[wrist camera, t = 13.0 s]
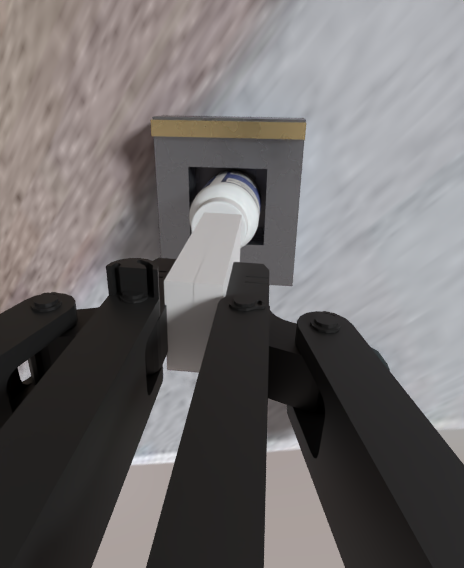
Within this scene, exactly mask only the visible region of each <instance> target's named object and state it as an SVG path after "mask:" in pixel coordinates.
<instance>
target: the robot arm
mask: <svg viewBox="0 0 464 568" xmlns="http://www.w3.org/2000/svg"><path fill="white" fill-rule="evenodd" d="M241 223H242V215H240V214H223V213H207V212H204V214H203V215H202V217H201V219H200V220H199V222H198V224H197V226H196V227H195V229H194V231H193V232H192V234H191V236H190V237H189V239H188V241H187V243H186V244H185V246H184V248H183V249H182V251H181V253H180V254H179V256H178V258H177V259H169V258H158V259H156V260H154V261H151V260H148V259H141V258H128V259H121V260H117V261H114V262H111V263H110V264H108V265H107V266H106V271H107V281H108V290H109V296H108V297H107V298H106V300H105V301H104V302H103V303H102V305H101V306H100V307H98V308H89V309H78V310H76V303H75V300H74V298H73V297H72V296H69V295H67V294H61V293H56V292H51V293H43V294H41V295H37V296H34V297H31V298H29V299H27V300H24V301H23V302H21V303H19V304H17V305H16V306H14V307H12V308H10V309H8V310H7V311H5V312H3V313H1V314H0V568H91V567H92V565H93V562H94V559H95V557H96V554H97V551H98V549H99V546H100V544H101V541H102V538H103V535H104V533H105V530H106V528H107V525H108V522H109V520H110V517H111V515H112V512H113V510H114V507H115V504H116V502H117V499H118V497H119V494H120V491H121V489H122V486H123V483H124V481H125V478H126V476H127V473H128V470H129V468H130V465H131V463H132V460H133V457H134V455H135V452H136V449H137V447H138V444H139V442H140V439H141V436H142V434H143V431H144V429H145V426H146V423H147V421H148V418H149V415H150V413H151V410H152V408H153V405H154V402H155V400H156V397H157V395H158V392H159V389H160V387H161V384H162V381H163V362H164V360H165V357H166V355H167V370H177V371H188V372H199V375H198V379H197V382H196V386H195V390H194V393H193V397H192V401H191V404H190V408H189V412H188V415H187V419H186V423H185V426H184V430H183V434H182V437H181V441H180V445H179V448H178V452H177V456H176V459H175V463H174V467H173V470H172V475H171V478H170V482H169V485H168V489H167V493H166V496H165V500H164V504H163V507H162V511H161V515H160V519H159V522H158V526H157V529H156V533H155V537H154V540H153V544H152V548H151V551H150V555H149V559H148V562H147V566H146V568H264V533H265V491H266V489H265V488H266V448H267V405H268V398H269V399H272V400H275V401H278V402H281V403H284V404H287V413H288V416H289V419H290V422H291V424H292V427H293V430H294V432H295V435H296V438H297V440H298V443H299V446H300V448H301V451H302V454H303V456H304V459H305V462H306V464H307V467H308V469H309V472H310V475H311V478H312V480H313V483H314V486H315V488H316V491H317V494H318V496H319V499H320V502H321V504H322V507H323V510H324V512H325V515H326V518H327V520H328V523H329V526H330V528H331V531H332V533H333V536H334V539H335V541H336V544H337V547H338V550H339V552H340V555H341V558H342V560H343V563H344V566H345V568H464V464H463V463H462V462H461V461H460V459H459V458H458V457H457V456H456V454H455V453H454V452H453V451H452V449H451V448H450V447H449V446H448V444H447V443H446V442H445V440H444V439H443V438H442V437H441V435H440V434H439V433H438V432H437V430H436V429H435V428H434V427H433V425H432V424H431V423H430V422H429V420H428V419H427V418H426V417H425V415H424V414H423V413H422V411H421V410H420V409H419V408H418V406H417V405H416V404H415V403H414V401H413V400H412V399H411V398H410V396H409V395H408V394H407V393H406V391H405V390H404V389H403V388H402V386H401V385H400V384H399V382H398V381H397V380H396V379H395V377H394V376H393V375H392V374H391V372H390V371H389V370H388V369H387V367H386V366H385V365H384V364H383V362H382V361H381V360H380V359H379V357H378V356H377V355H376V354H375V352H374V351H373V350H372V348H371V347H370V346H369V345H368V343H367V342H366V341H365V340H364V338H363V337H362V336H361V335H360V333H359V332H358V331H357V330H356V328H355V327H354V326H353V325H352V323H350V322H349V321H348V320H347V319H345V318H343V317H341V316H339V315H337V314H335V313H330V312H326V311H323V312H317V311H316V312H309V313H306V314H304V315H302V316H300V317H299V319H298V320H297V324H296V323H292V322H289V321H286V320H283V319H281V318H279V317H277V316H275V315H274V314H273V313H272V312H271V311H270V306H269V269H268V268H267V267H266V266H265V265H264V264H258V263H244V262H240V244H241ZM27 360H28V363H29V367H30V372H31V377H29V378H28V379H27V380H25V381H23V382H22V381H21V380H20V376H19V372H18V368H17V367H18V366H20V365H21V364H22V363H24V362H25V361H27Z"/></svg>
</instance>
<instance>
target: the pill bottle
mask: <svg viewBox="0 0 464 568" xmlns="http://www.w3.org/2000/svg"><path fill="white" fill-rule="evenodd" d="M260 208H261V195H260V191H259V188H258V186H257V184H256V183H255V182H254V180H253V179H252V178H250V177H249V176H248V175H246V174H244V173H242V172H239V171H234V170H230V171H224V172H221V173H219V174H217V175H215V176H214V177H213V178H211V179H210V180H209V181H208V182H207V184H206V185H205V186H204V187H203V188H202V190H201V191H200V192H199V193H198V194H197V195H196V197H195V199H194V200H193V202H192V205H191V208H190V213H189V221H190V226H191V231H192V232H193V231H194V229H195V227H196V226H197V224H198V222H199V220H200V219H201V217H202V215H203V214H204V212H207V213H223V214H240V215H242V223H241V244H240V248H242V247H243V246H245V245H246V244H247V243H248V242H249V241H250V240H251V239H252V237H253V236H254V234H255V232H256V230H257V227H258V223H259V215H260Z"/></svg>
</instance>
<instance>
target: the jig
mask: <svg viewBox="0 0 464 568" xmlns="http://www.w3.org/2000/svg"><path fill="white" fill-rule="evenodd" d="M152 118H153V120H151V136H154V150H155V167H156V183H157V199H158V216H159V232H160V248H161V258H169V259H177V258H178V256H179V254H180V253H181V251H182V249H183V248H184V246H185V244H186V243H187V241H188V239H189V237H190V236H191V234H192V231H191V226H190V221H189V213H190V208H191V205H192V202H193V200H194V199H195V197H196V195H197V194H198V193H199V192H200V191H201V190H202V188H203V187H204V186H205V185H206V184H207V182H208V181H209V180H210V179H211V178H213V177H214V176H215V175H217V174H219V173H221V172H224V171H230V170H234V171H239V172H242V173H244V174H246V175H248V176H249V177H250V178H252V179H253V180H254V182H255V183H256V184H257V186H258V188H259V191H260V195H261V208H260V215H259V223H258V227H257V230H256V232H255V234H254V236H253V237H252V239H251V240H250V241H249V242H248V243H247V244H246V245H245V246H243V247H242V248H240V262H244V263H258V264H264V265H265V266H266V267H267V268H268V269H269V285H282V286H292V283H293V271H294V258H295V246H296V234H297V222H298V210H299V197H300V185H301V173H302V161H303V149H304V140H305V131H306V119H304V118H272V117H217V116H155V117H152Z"/></svg>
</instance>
